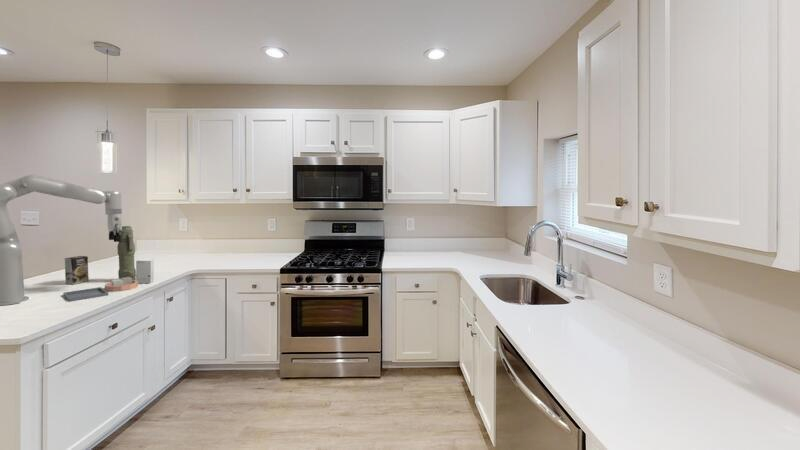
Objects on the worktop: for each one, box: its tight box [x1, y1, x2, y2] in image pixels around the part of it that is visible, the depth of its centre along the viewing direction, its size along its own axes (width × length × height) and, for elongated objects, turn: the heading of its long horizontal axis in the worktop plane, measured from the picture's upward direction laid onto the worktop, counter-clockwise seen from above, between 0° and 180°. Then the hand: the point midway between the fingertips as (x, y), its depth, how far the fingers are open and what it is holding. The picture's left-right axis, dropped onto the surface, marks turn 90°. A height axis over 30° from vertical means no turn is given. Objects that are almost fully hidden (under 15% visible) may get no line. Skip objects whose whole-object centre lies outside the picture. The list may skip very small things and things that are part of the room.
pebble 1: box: [110, 278, 123, 286], centre depth 211 cm, size 4×4×5 cm
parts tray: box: [63, 286, 109, 302], centre depth 198 cm, size 16×16×2 cm
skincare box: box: [135, 258, 155, 285], centre depth 228 cm, size 8×6×15 cm
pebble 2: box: [120, 277, 132, 285], centre depth 216 cm, size 4×4×5 cm
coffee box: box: [64, 255, 90, 286], centre depth 223 cm, size 9×6×16 cm
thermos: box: [116, 225, 136, 280], centre depth 231 cm, size 9×12×35 cm
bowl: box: [104, 280, 139, 293], centre depth 213 cm, size 15×15×4 cm
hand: (114, 240), depth 214 cm, fingers open, 9 cm apart
